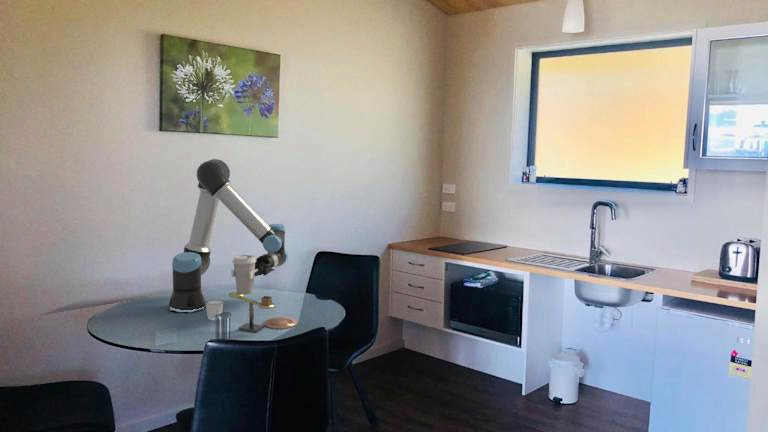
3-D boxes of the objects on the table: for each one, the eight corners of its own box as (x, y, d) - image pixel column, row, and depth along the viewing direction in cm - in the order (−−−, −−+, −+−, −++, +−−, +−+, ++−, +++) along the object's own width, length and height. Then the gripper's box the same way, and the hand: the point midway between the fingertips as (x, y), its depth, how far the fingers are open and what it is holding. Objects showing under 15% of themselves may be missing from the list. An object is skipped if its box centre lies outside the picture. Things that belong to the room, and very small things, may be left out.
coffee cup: (251, 296, 250) (250, 259, 248) (229, 294, 252) (228, 258, 250) (260, 290, 259) (259, 254, 257) (239, 288, 261) (238, 253, 259)
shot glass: (226, 317, 258) (226, 301, 257) (215, 322, 252) (215, 305, 251) (213, 314, 261) (213, 298, 260) (202, 319, 255) (202, 303, 254)
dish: (258, 326, 249) (258, 324, 248) (273, 317, 261) (273, 315, 261) (288, 330, 245) (288, 328, 245) (301, 320, 258) (301, 319, 257)
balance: (226, 328, 245) (226, 294, 243) (233, 323, 251) (233, 291, 249) (269, 334, 240) (270, 300, 238) (276, 329, 246) (277, 296, 244)
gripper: (287, 273, 270) (263, 286, 248) (245, 268, 275) (218, 281, 254) (287, 256, 269) (263, 268, 247) (245, 252, 274) (218, 263, 252)
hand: (241, 274), depth 250 cm, fingers closed on coffee cup, 7 cm apart
